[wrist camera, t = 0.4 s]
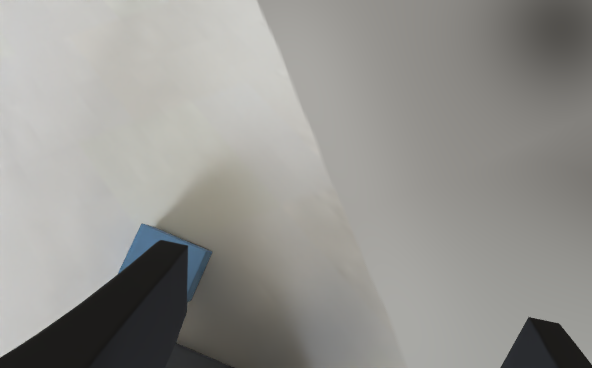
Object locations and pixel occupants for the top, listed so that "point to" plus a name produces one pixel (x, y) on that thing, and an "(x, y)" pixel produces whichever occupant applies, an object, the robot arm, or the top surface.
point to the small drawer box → (191, 359)
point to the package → (151, 235)
